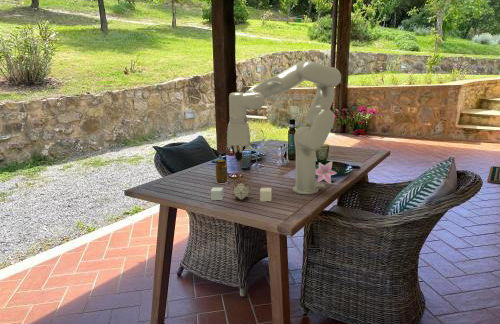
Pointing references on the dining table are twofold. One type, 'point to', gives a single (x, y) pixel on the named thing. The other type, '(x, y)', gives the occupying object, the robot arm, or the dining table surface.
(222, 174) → the condiment
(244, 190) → the game die
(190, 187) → the dining table surface
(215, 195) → the grey-green block
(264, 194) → the off-white block
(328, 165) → the lily
